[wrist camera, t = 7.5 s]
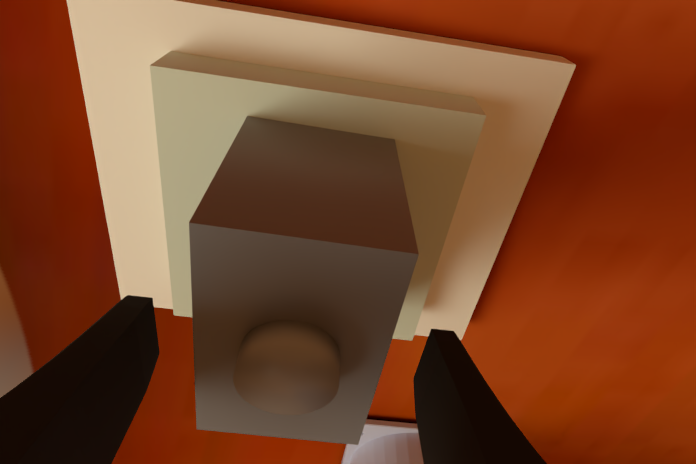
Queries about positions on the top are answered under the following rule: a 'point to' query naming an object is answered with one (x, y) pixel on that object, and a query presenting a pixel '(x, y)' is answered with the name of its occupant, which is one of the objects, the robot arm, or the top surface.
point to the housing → (298, 280)
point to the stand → (313, 110)
